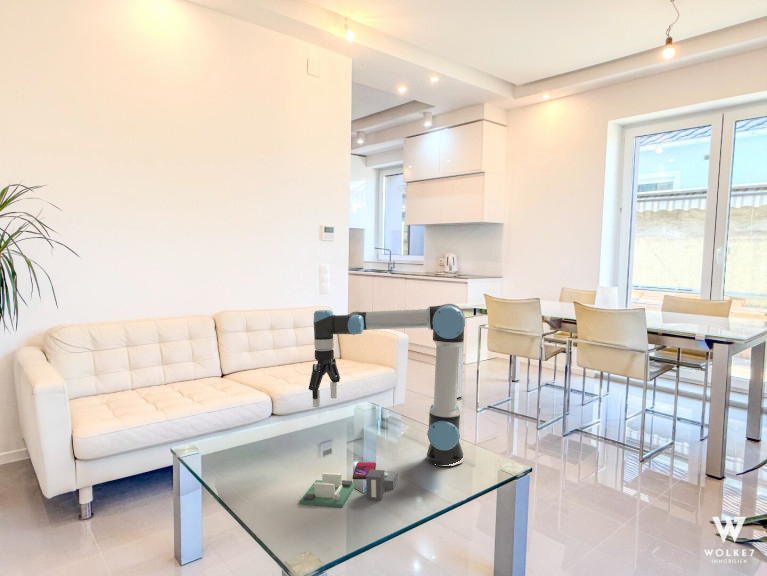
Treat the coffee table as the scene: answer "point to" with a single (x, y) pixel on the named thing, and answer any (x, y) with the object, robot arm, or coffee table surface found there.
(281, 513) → the coffee table surface
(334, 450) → the coffee table surface
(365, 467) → the smartphone
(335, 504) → the board
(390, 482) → the grey button box
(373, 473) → the plug
